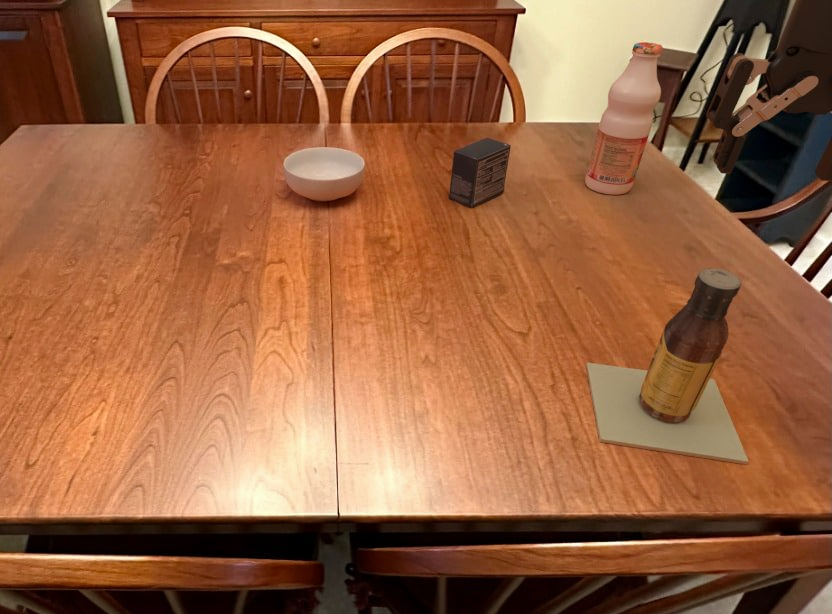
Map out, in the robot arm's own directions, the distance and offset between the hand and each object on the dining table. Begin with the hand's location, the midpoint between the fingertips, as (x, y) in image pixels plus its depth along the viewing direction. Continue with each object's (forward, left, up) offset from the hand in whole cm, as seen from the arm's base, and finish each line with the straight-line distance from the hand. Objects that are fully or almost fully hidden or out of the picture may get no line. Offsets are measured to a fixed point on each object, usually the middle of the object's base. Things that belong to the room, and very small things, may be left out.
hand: (772, 174), depth 58 cm
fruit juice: (-2, -66, -32) cm, 74 cm away
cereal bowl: (+56, -51, -32) cm, 82 cm away
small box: (+25, -56, -32) cm, 69 cm away
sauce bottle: (0, +1, -31) cm, 31 cm away
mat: (+1, +1, -32) cm, 32 cm away
